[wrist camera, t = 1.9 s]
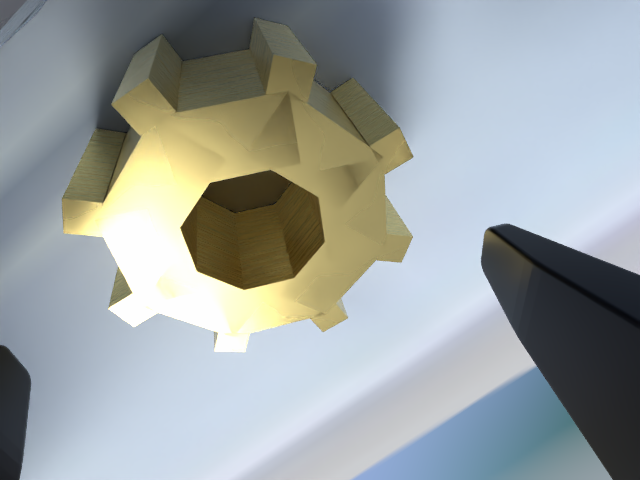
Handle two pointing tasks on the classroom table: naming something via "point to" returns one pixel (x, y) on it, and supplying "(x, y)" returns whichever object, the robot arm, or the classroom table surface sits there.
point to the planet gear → (229, 162)
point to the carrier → (16, 16)
